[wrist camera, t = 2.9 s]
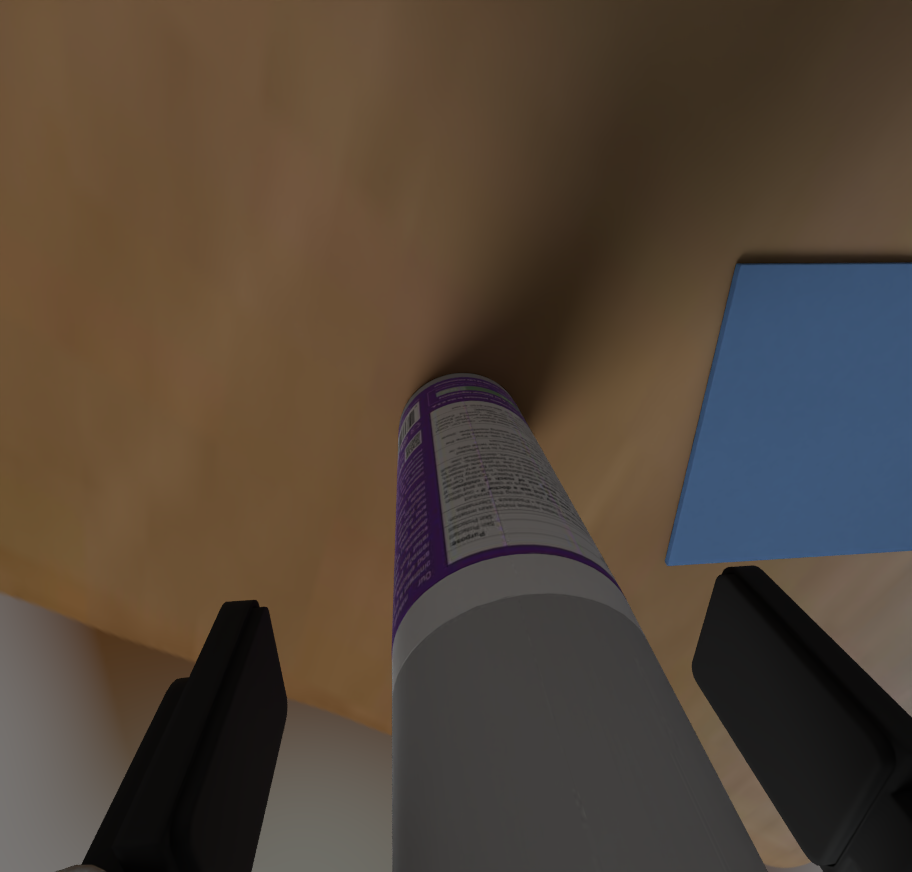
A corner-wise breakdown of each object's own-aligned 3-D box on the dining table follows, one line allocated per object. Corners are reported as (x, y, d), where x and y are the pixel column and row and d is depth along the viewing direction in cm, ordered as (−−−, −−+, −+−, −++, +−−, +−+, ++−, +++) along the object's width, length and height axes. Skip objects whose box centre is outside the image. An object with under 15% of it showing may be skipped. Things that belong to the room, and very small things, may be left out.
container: (451, 504, 20) (550, 1140, 6) (372, 426, 18) (274, 1081, 5) (544, 435, 19) (893, 1010, 5) (470, 345, 17) (716, 873, 4)
